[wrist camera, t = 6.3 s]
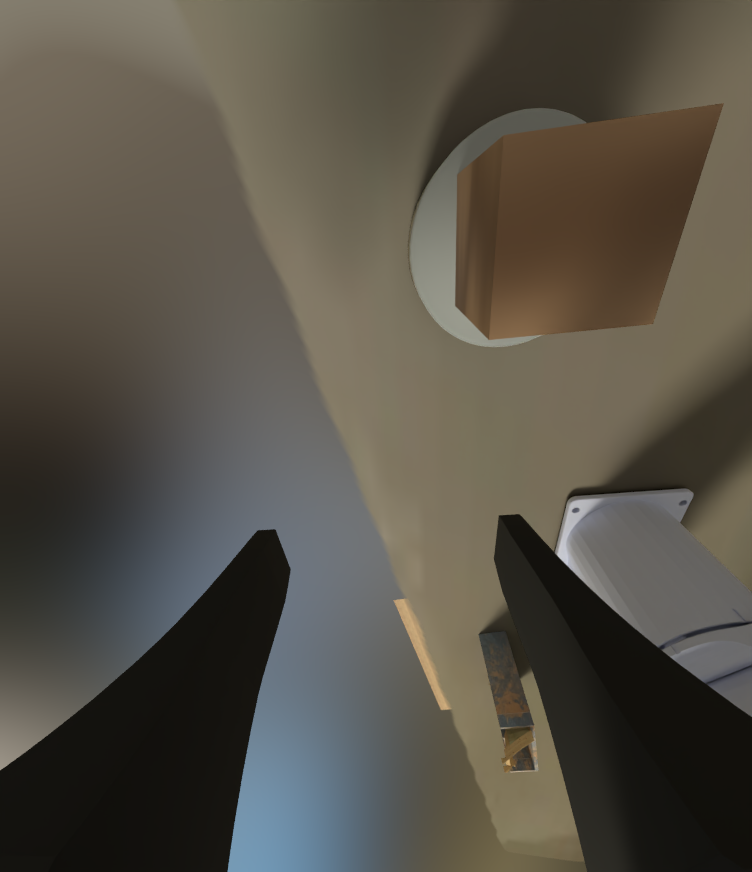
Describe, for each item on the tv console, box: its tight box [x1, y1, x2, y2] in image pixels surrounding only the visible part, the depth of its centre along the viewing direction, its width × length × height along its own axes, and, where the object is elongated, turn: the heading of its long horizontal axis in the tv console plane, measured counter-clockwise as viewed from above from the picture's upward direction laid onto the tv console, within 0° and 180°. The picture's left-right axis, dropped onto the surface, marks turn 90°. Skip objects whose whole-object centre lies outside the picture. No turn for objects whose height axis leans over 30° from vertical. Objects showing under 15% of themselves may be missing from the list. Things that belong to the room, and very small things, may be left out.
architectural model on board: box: [394, 599, 538, 772], centre depth 31 cm, size 11×3×10 cm, turn 16°
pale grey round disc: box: [408, 108, 586, 347], centre depth 14 cm, size 8×8×3 cm
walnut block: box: [455, 103, 724, 340], centre depth 11 cm, size 4×4×6 cm
